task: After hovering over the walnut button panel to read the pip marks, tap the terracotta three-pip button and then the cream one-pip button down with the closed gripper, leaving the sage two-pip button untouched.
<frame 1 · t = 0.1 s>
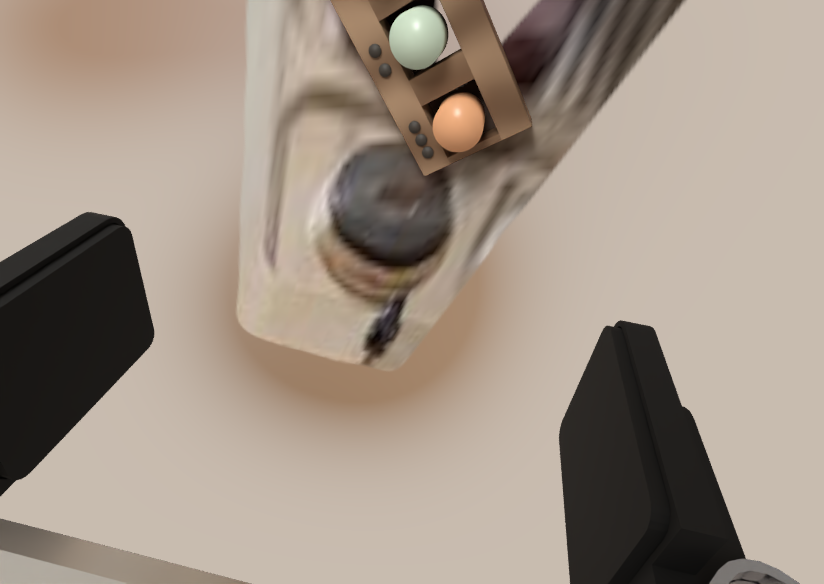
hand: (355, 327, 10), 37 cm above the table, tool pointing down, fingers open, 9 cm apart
panel: (425, 32, 40), on the table
button 2: (419, 37, 38), point 3 cm above the table, slide at 0.0 cm
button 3: (459, 121, 41), point 3 cm above the table, slide at 0.0 cm
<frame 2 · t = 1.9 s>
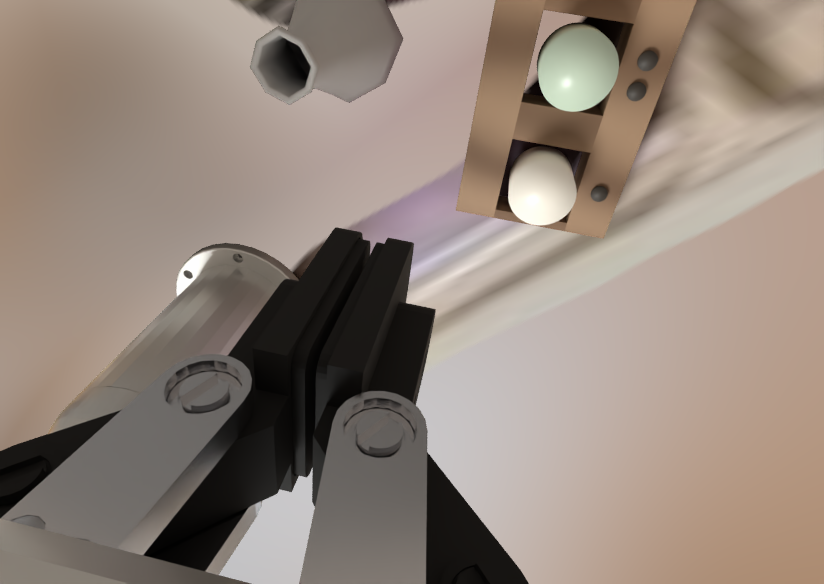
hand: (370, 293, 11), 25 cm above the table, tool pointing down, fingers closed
flask: (345, 38, 32), on the table
panel: (570, 57, 30), on the table
button 2: (575, 66, 27), point 3 cm above the table, slide at 0.0 cm
button 1: (541, 185, 31), point 3 cm above the table, slide at 0.0 cm
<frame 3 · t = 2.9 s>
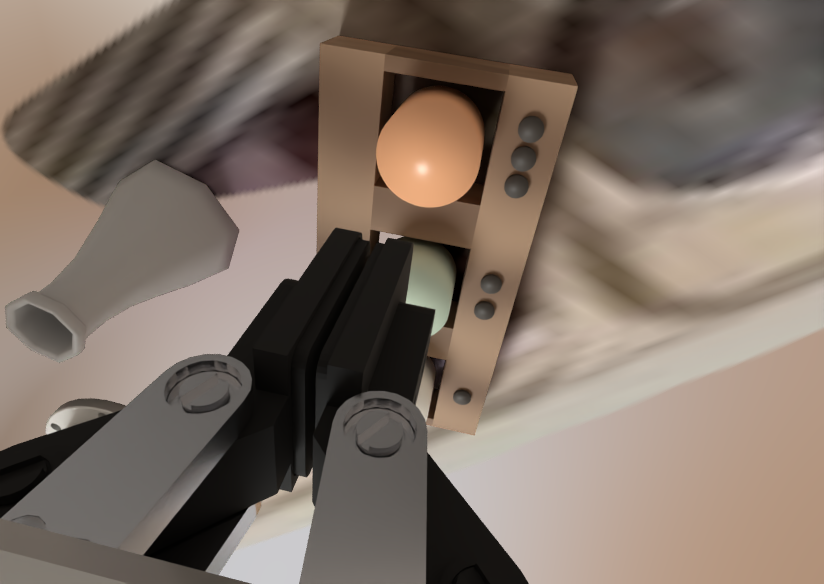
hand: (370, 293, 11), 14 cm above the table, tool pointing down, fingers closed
flask: (180, 222, 28), on the table
panel: (421, 257, 27), on the table
button 2: (412, 287, 24), point 3 cm above the table, slide at 0.0 cm
button 1: (397, 388, 28), point 3 cm above the table, slide at 0.0 cm
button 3: (433, 145, 20), point 3 cm above the table, slide at 0.0 cm
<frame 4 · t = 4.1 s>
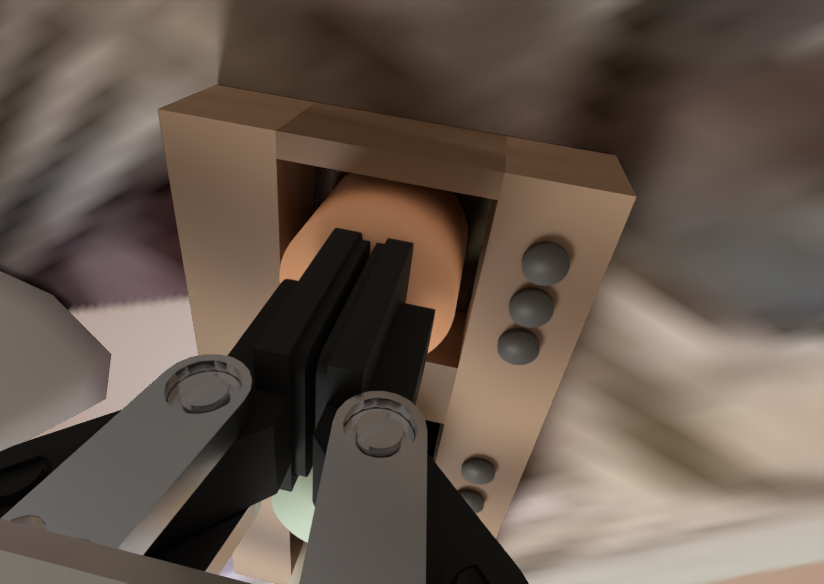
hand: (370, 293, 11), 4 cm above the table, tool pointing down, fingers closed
flask: (33, 336, 20), on the table
panel: (376, 400, 18), on the table
button 2: (354, 470, 15), point 3 cm above the table, slide at 0.0 cm
button 1: (344, 579, 19), point 3 cm above the table, slide at 0.0 cm
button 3: (381, 261, 12), point 2 cm above the table, slide at 1.1 cm, touching gripper
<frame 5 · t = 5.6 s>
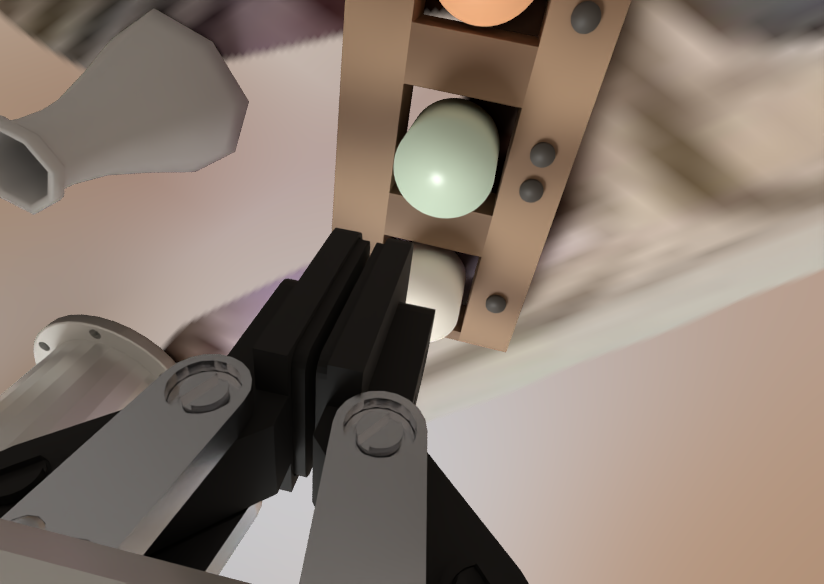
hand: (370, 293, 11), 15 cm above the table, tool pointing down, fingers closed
flask: (182, 94, 25), on the table
panel: (457, 135, 23), on the table
button 2: (449, 157, 21), point 3 cm above the table, slide at 0.0 cm
button 1: (422, 291, 25), point 3 cm above the table, slide at 0.0 cm
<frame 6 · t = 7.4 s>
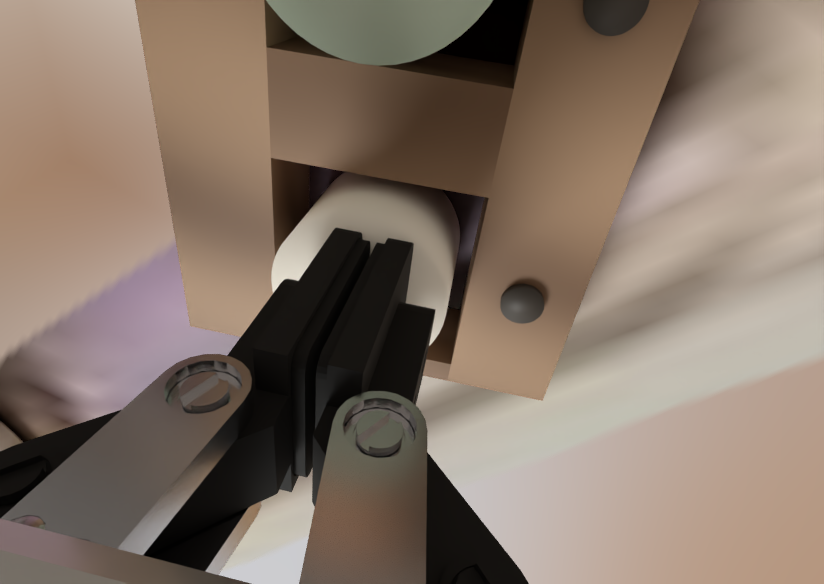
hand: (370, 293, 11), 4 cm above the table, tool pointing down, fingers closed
button 1: (374, 262, 12), point 2 cm above the table, slide at 0.9 cm, touching gripper
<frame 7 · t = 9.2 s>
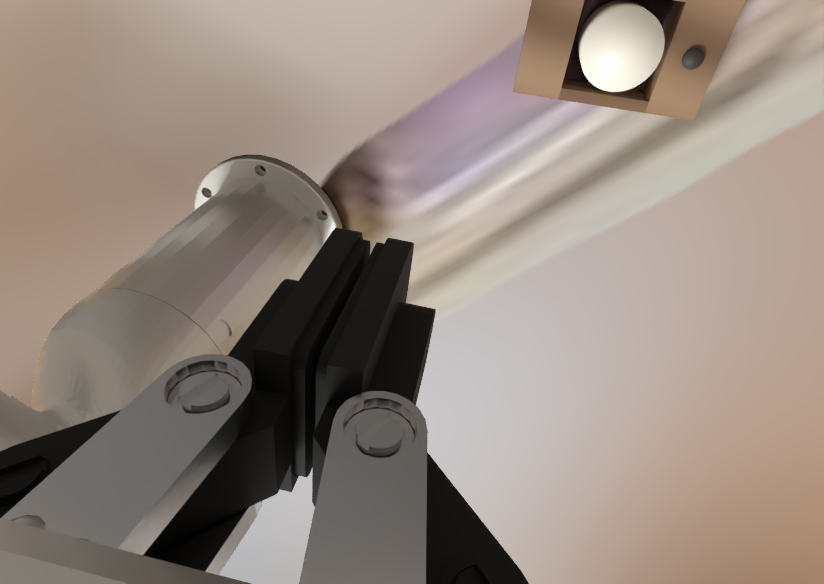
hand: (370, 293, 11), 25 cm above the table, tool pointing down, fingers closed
button 1: (618, 45, 27), point 2 cm above the table, slide at 1.2 cm
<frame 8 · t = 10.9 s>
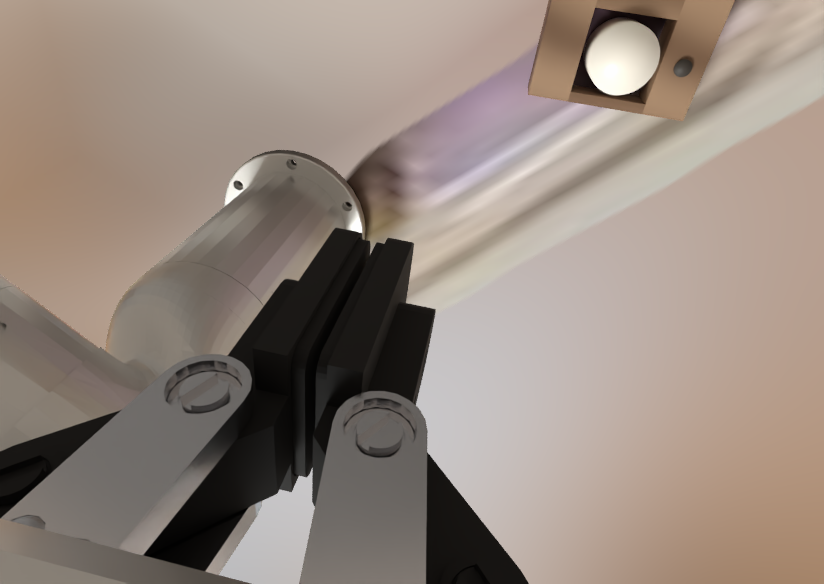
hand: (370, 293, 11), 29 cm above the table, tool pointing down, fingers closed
button 1: (619, 56, 31), point 2 cm above the table, slide at 1.2 cm
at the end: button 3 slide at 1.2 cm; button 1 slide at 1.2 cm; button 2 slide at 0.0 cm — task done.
